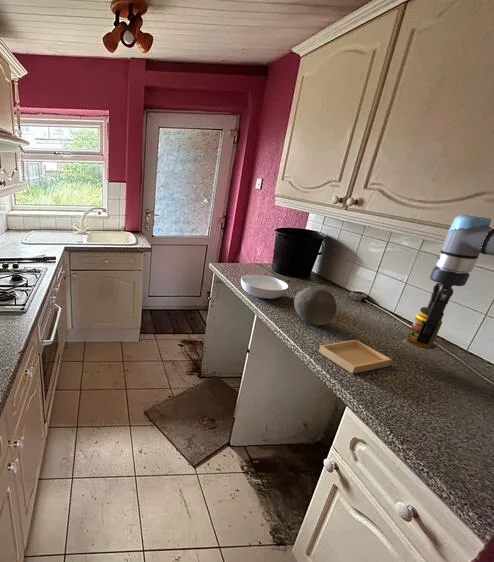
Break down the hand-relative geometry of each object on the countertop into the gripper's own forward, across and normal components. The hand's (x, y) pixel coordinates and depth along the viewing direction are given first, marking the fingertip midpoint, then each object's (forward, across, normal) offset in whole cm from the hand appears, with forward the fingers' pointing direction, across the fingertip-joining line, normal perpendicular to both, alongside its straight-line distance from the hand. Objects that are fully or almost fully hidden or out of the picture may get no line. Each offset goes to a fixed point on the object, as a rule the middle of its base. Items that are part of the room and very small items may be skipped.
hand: (422, 338), depth 98 cm
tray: (+9, +11, -14) cm, 20 cm away
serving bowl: (+9, -21, -56) cm, 61 cm away
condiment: (+2, -1, 0) cm, 3 cm away
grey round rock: (+9, -6, -31) cm, 33 cm away
